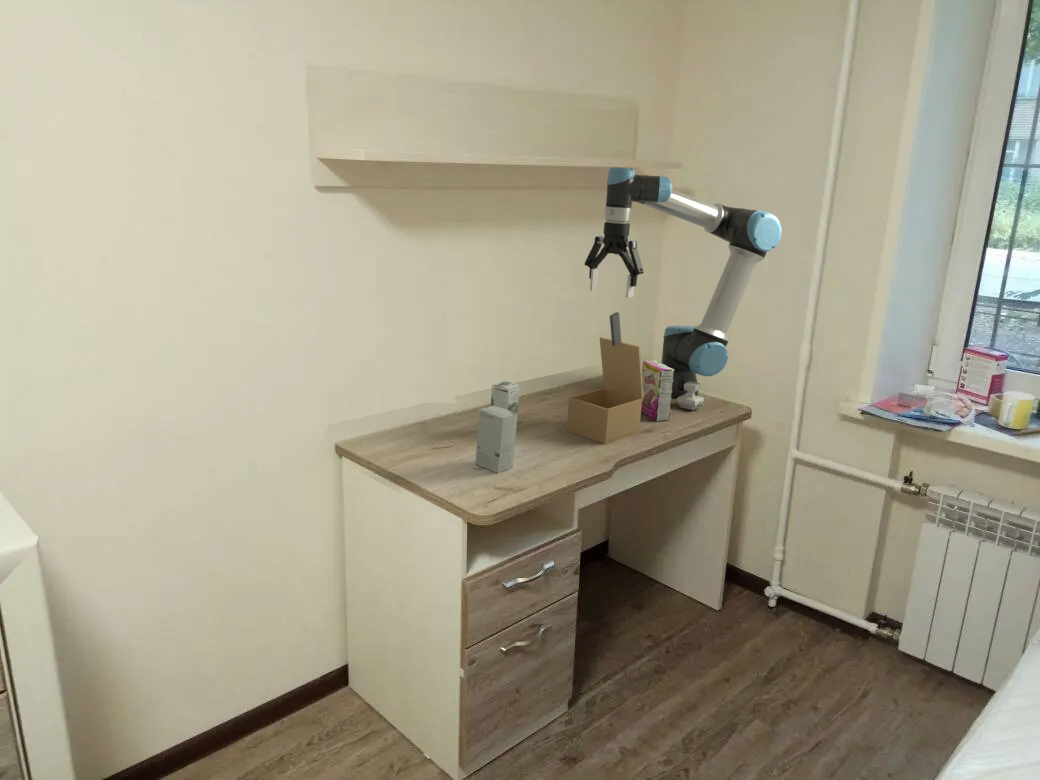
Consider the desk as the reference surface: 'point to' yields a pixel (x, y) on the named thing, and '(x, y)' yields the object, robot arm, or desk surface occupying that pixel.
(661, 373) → the candy bar box
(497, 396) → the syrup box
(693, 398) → the stamp
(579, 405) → the carton
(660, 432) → the desk surface
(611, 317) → the flap
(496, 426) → the skincare box
